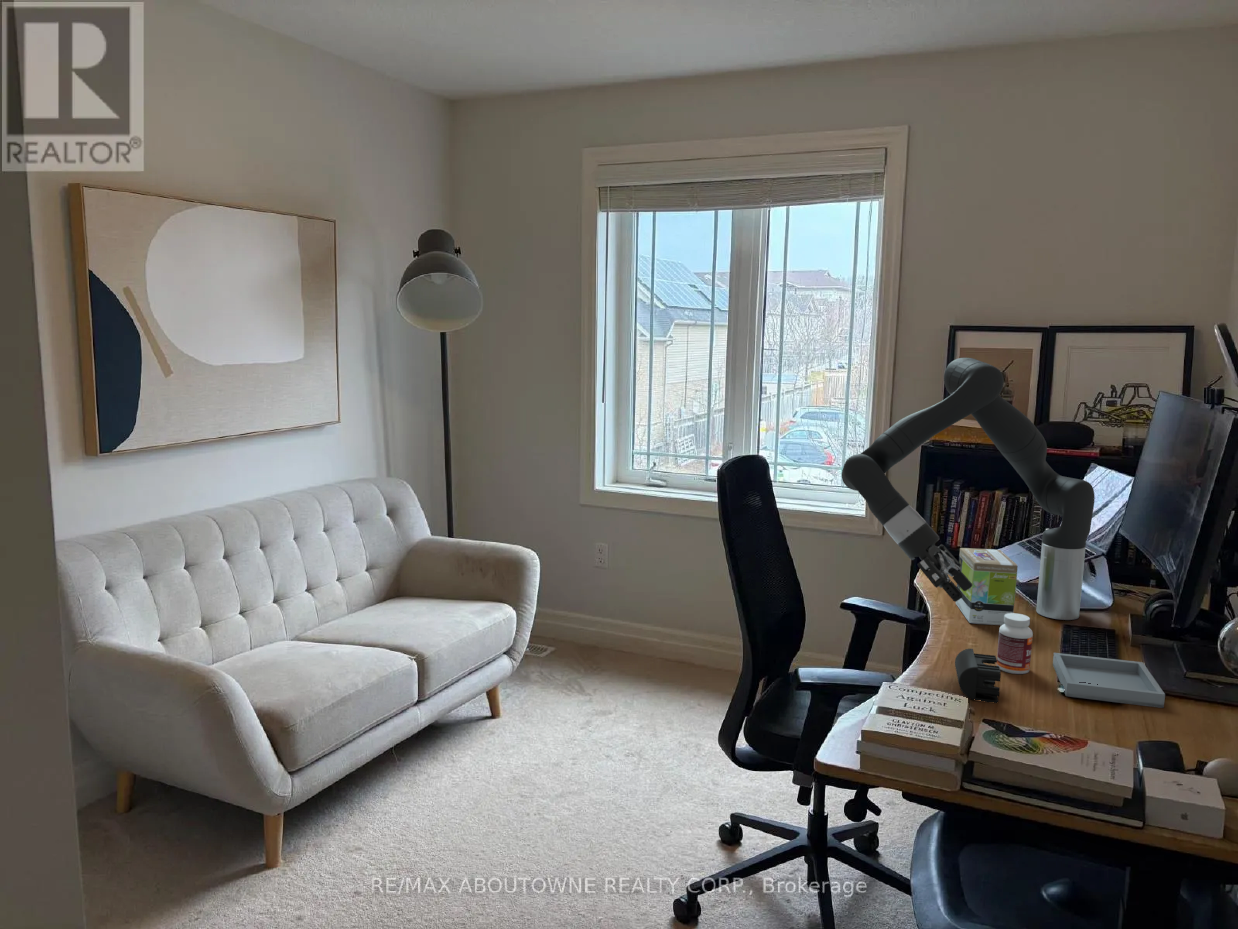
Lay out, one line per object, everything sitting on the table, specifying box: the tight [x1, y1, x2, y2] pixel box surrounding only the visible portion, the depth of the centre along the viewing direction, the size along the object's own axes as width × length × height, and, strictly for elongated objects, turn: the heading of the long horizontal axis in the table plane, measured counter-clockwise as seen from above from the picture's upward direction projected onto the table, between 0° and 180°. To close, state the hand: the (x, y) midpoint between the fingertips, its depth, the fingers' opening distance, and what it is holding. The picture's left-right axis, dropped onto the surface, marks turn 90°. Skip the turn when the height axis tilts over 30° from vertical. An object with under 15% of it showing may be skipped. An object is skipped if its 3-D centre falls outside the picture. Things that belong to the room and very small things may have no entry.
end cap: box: [954, 648, 1002, 704], centre depth 164 cm, size 10×7×7 cm
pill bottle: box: [996, 612, 1034, 675], centre depth 175 cm, size 6×6×11 cm
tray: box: [1052, 652, 1166, 709], centre depth 168 cm, size 16×16×3 cm
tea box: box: [955, 547, 1019, 626], centre depth 207 cm, size 15×10×15 cm
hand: (964, 593), depth 179 cm, fingers open, 8 cm apart
